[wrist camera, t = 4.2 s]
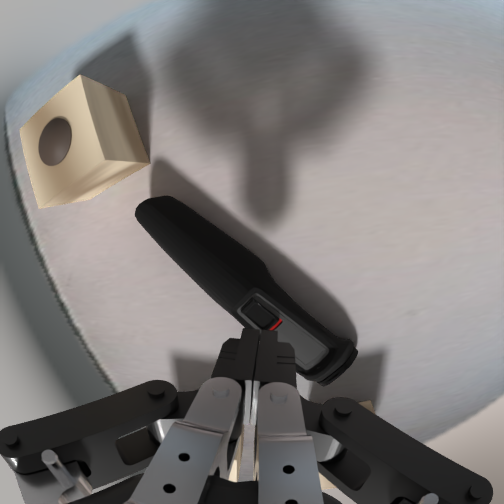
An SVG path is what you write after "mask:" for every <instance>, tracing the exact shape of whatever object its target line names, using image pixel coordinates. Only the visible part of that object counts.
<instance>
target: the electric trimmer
mask: <svg viewBox="0 0 504 504" xmlns="http://www.w3.org/2000/svg"><path fill="white" fill-rule="evenodd" d="M135 217H136V218H137V221H138V222H139V223H140V224H141V225H142V226H143V228H144V229H145V230H146V231H147V232H148V233H149V234H150V236H151V237H152V238H153V239H154V240H155V241H156V242H157V243H158V245H159V246H160V247H161V248H162V249H163V250H164V251H165V252H166V253H167V254H168V255H169V256H170V257H171V258H172V259H173V260H174V261H175V262H176V263H177V264H178V265H179V266H180V267H181V268H182V269H183V270H184V271H185V272H186V273H187V274H188V275H189V276H190V277H191V278H192V279H193V280H194V281H195V282H196V283H197V284H198V285H199V286H200V287H201V288H202V289H203V290H204V291H205V292H206V293H207V294H208V295H209V296H210V297H211V298H212V299H213V300H214V301H215V302H217V303H218V304H219V305H220V306H221V307H223V308H224V309H225V310H226V311H227V312H229V313H230V314H231V315H232V316H233V317H234V318H235V319H236V320H237V321H239V322H240V323H241V324H242V325H243V326H244V327H245V328H248V329H260V335H261V330H274V331H278V342H287V343H290V344H291V345H292V347H293V348H294V349H295V365H296V372H297V373H298V374H300V375H301V376H303V377H304V378H305V379H307V380H310V381H317V382H318V383H319V384H320V385H322V386H326V385H328V384H330V383H331V382H333V381H334V380H335V379H337V378H338V377H339V376H340V375H342V374H343V373H344V372H345V371H346V370H347V369H348V368H349V367H350V366H351V365H352V363H353V361H354V360H355V358H356V356H357V354H358V350H357V349H355V348H354V342H353V341H352V340H350V339H347V340H344V339H340V338H338V337H337V336H335V335H334V334H333V333H331V332H330V331H329V330H327V329H326V328H325V327H324V326H322V325H321V324H320V323H319V322H317V321H316V320H315V319H314V318H313V317H311V316H310V315H309V314H308V313H307V312H306V311H304V310H303V309H302V308H301V307H300V306H299V305H297V304H296V303H295V302H294V301H293V300H292V299H291V298H290V297H289V296H288V295H287V294H286V293H285V292H284V291H283V290H282V289H281V288H280V287H279V286H278V285H277V284H276V283H275V281H274V280H273V278H272V277H271V275H270V274H269V272H268V270H267V268H266V266H265V264H264V263H263V262H262V261H261V260H260V259H259V258H258V257H257V256H255V255H254V254H253V253H252V252H250V251H249V250H248V249H246V248H245V247H243V246H242V245H241V244H239V243H238V242H236V241H235V240H234V239H232V238H231V237H229V236H228V235H227V234H225V233H224V232H222V231H221V230H220V229H218V228H217V227H216V226H214V225H213V224H211V223H210V222H209V221H207V220H206V219H204V218H203V217H202V216H200V215H199V214H197V213H196V212H195V211H193V210H192V209H190V208H189V207H188V206H186V205H185V204H183V203H182V202H180V201H178V200H177V199H175V198H173V197H171V196H161V197H155V198H149V199H147V200H145V201H143V202H142V203H140V204H139V205H138V207H137V208H136V211H135ZM259 341H260V339H259Z"/></svg>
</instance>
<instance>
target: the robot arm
mask: <svg viewBox="0 0 504 504" xmlns="http://www.w3.org/2000/svg"><path fill="white" fill-rule="evenodd" d="M259 339H260V342H259ZM251 410H252V418H251V425H256V426H255V438H254V469H253V481H245V482H233V481H230V480H229V475H230V472H231V469H232V465H233V462H234V459H235V455H236V452H237V448H238V445H239V442H240V435H241V433H242V429H243V424H245V425H249V423H250V416H251ZM144 426H146V428H144V429H141V430H139V431H137V432H134V433H132V434H130V435H127V436H125V437H123V438H120V439H118V438H119V437H121V436H123V435H125V434H128V433H130V432H133V431H135V430H137V429H140V428H142V427H144ZM0 454H1V456H2V457H3V458H4V459H5V461H6V462H7V463H8V464H9V466H10V468H11V469H12V470H13V471H14V473H15V475H16V479H17V482H18V485H19V488H20V491H21V493H22V496H23V499H24V501H25V504H342V503H341V502H340V501H338V500H337V499H335V498H334V497H332V496H330V495H328V494H326V493H323V492H322V490H321V484H320V478H319V473H320V474H321V475H323V476H324V477H325V478H326V479H327V480H328V481H330V482H331V483H332V484H333V485H334V486H336V487H337V488H338V489H339V490H341V491H342V492H343V493H344V494H345V495H347V496H348V497H349V498H351V499H352V500H353V501H354V502H356V503H357V504H489V503H490V502H491V500H492V496H493V488H492V486H491V484H490V482H489V481H488V480H487V479H486V478H484V477H482V476H480V475H478V474H476V473H474V472H472V471H470V470H469V469H466V468H465V467H463V466H461V465H459V464H457V463H455V462H454V461H452V460H450V459H448V458H446V457H444V456H443V455H441V454H439V453H438V452H436V451H434V450H432V449H431V448H429V447H427V446H425V445H424V444H422V443H420V442H419V441H417V440H415V439H414V438H412V437H410V436H409V435H407V434H406V433H404V432H402V431H401V430H399V429H397V428H396V427H394V426H393V425H391V424H390V423H388V422H386V421H385V420H383V419H382V418H380V417H379V416H377V415H375V414H374V413H372V412H371V411H369V410H368V409H366V408H365V407H363V406H362V405H360V404H359V403H357V402H356V401H354V400H352V399H349V398H343V397H338V398H333V399H330V400H328V401H327V402H325V403H324V405H321V404H317V403H313V402H310V401H308V400H306V399H304V398H303V397H302V396H301V395H300V394H299V392H298V390H297V385H296V365H295V349H294V348H293V347H292V345H291V344H290V343H287V342H278V331H274V330H261V335H260V329H248V328H243V331H242V334H241V338H240V339H235V338H229V339H228V340H227V341H226V342H225V343H223V345H222V348H221V351H220V354H219V357H218V359H217V362H216V365H215V368H214V371H213V374H212V376H211V379H208V380H206V381H205V382H204V383H203V384H202V385H201V387H200V389H199V390H195V391H188V392H177V390H176V388H175V387H174V385H172V384H171V383H169V382H167V381H163V380H152V381H148V382H145V383H143V384H140V385H138V386H135V387H132V388H130V389H127V390H124V391H122V392H119V393H116V394H114V395H111V396H108V397H105V398H102V399H100V400H97V401H94V402H91V403H88V404H85V405H82V406H79V407H76V408H73V409H69V410H66V411H63V412H60V413H57V414H53V415H50V416H46V417H43V418H39V419H36V420H32V421H28V422H24V423H21V424H17V425H12V426H8V427H6V428H4V429H2V430H1V431H0ZM146 467H148V468H147V470H146V472H145V473H142V474H139V475H136V476H133V477H130V478H128V479H126V480H124V481H122V482H120V483H117V484H115V485H113V486H111V487H108V488H106V489H104V490H101V491H99V492H97V493H94V494H92V490H93V489H95V488H98V487H101V486H104V485H106V484H109V483H111V482H114V481H116V480H119V479H121V478H124V477H126V476H128V475H131V474H133V473H135V472H137V471H139V470H142V469H144V468H146Z"/></svg>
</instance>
